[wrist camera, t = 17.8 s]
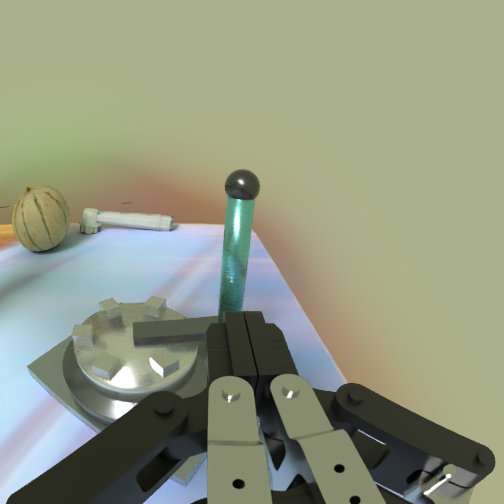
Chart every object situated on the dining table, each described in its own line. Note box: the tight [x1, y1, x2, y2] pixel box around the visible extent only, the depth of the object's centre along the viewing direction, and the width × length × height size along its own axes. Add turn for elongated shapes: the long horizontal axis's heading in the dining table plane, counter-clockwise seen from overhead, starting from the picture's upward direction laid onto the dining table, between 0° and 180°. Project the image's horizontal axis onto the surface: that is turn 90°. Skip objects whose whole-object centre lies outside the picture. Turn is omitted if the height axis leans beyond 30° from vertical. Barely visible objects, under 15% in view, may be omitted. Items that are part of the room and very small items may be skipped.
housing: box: [27, 303, 207, 486], centre depth 29 cm, size 22×18×4 cm
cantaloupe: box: [12, 185, 70, 251], centre depth 53 cm, size 15×15×15 cm
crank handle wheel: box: [72, 169, 260, 403], centre depth 25 cm, size 18×13×19 cm
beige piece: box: [79, 208, 173, 234], centre depth 71 cm, size 5×7×25 cm
